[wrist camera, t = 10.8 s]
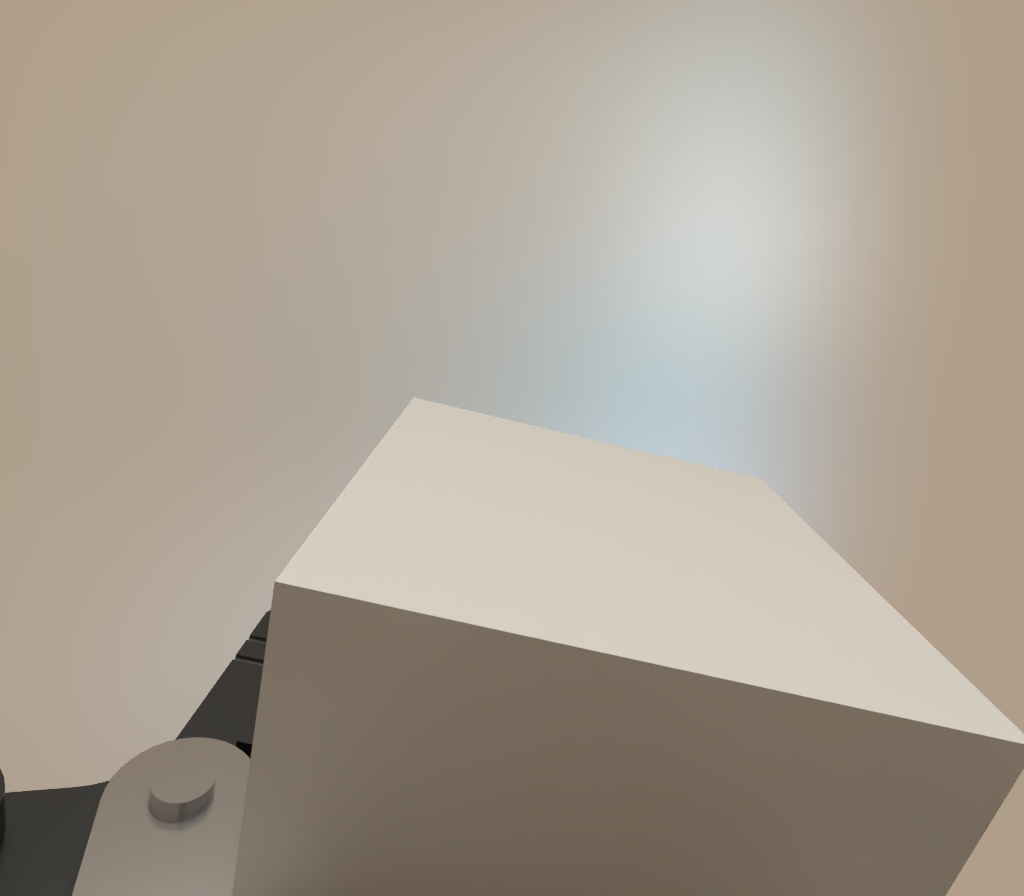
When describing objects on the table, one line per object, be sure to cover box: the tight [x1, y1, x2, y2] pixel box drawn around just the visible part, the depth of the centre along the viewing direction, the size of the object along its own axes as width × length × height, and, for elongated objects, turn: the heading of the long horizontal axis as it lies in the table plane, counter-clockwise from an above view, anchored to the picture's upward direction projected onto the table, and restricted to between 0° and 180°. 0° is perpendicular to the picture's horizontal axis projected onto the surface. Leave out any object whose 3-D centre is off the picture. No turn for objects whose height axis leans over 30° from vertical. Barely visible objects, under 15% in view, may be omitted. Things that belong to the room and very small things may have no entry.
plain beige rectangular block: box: [232, 398, 1024, 896], centre depth 8 cm, size 5×5×10 cm
